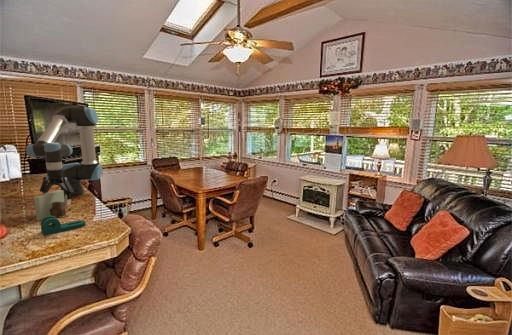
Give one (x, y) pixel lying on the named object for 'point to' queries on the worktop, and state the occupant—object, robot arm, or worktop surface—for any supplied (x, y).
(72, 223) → the bracket
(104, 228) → the worktop surface
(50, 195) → the sage slotted plate
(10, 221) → the worktop surface
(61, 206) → the walnut slotted plate
